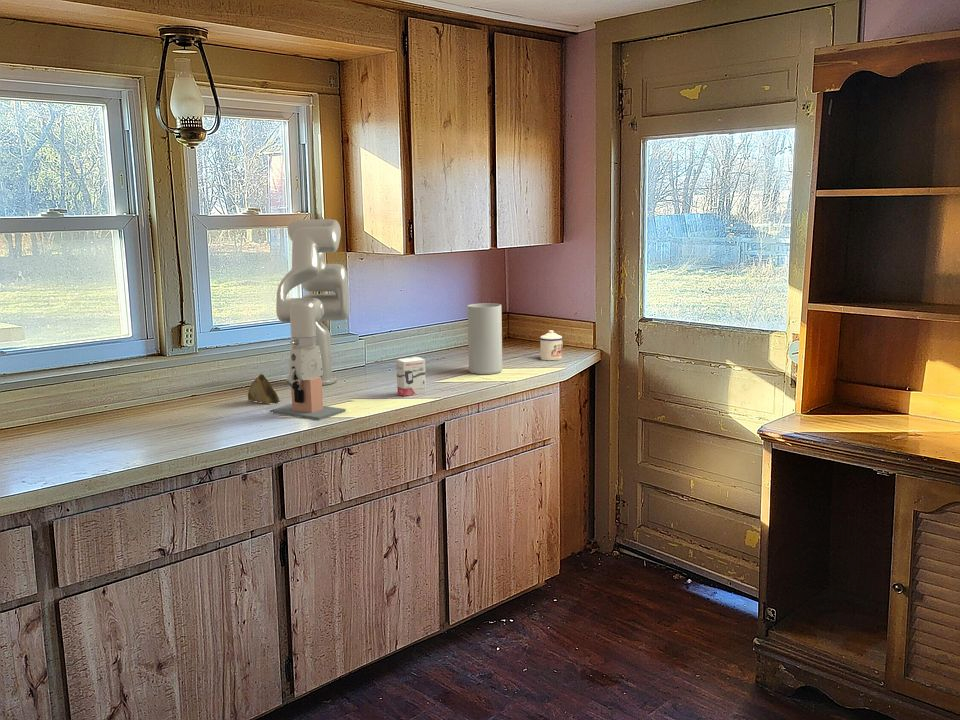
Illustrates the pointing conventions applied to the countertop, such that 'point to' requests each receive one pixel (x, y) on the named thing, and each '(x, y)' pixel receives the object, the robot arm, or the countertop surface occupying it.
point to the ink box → (411, 376)
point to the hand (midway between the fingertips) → (307, 399)
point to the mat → (314, 415)
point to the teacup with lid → (551, 346)
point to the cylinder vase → (485, 338)
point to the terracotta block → (310, 396)
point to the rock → (262, 391)
